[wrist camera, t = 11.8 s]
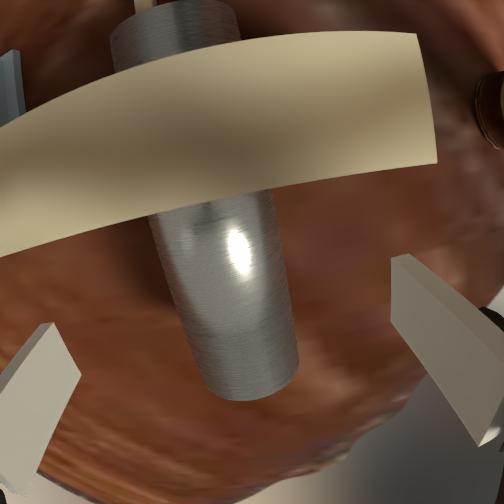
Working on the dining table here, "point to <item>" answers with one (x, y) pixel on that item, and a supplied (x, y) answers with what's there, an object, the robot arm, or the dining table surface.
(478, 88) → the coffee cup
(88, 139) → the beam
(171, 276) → the axle
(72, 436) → the dining table surface
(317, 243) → the dining table surface
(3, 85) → the v block
